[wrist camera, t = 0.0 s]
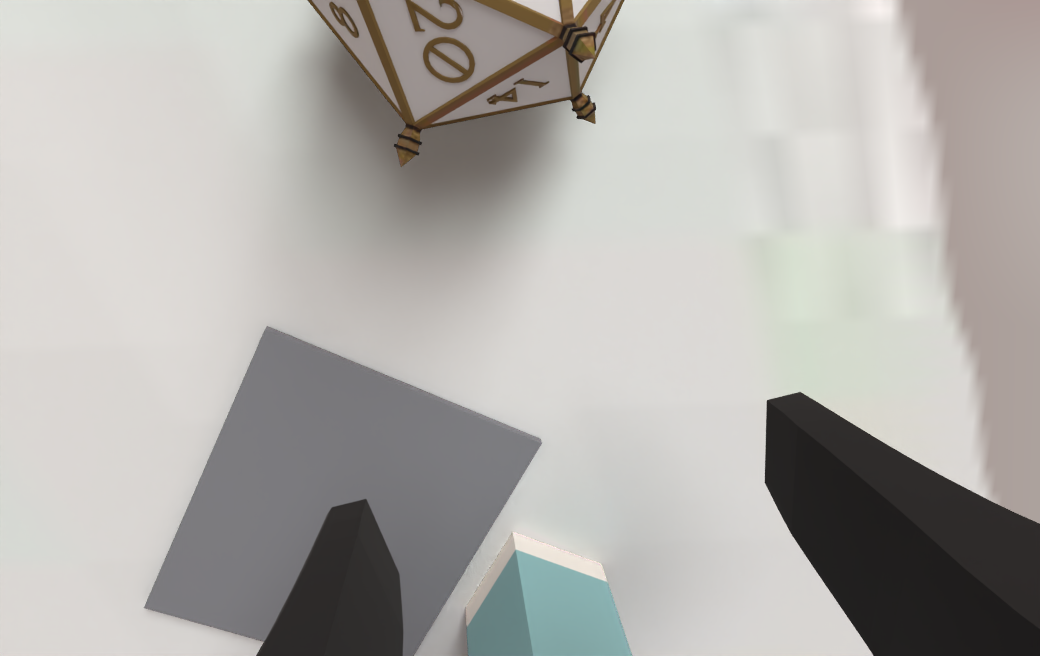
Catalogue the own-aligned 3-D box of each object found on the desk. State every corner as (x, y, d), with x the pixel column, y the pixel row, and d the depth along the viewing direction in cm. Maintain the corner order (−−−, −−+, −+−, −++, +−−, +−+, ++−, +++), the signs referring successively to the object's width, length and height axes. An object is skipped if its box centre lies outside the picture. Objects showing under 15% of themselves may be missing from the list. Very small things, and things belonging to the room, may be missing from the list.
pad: (399, 673, 27) (399, 679, 26) (147, 601, 24) (143, 608, 24) (540, 438, 23) (541, 443, 23) (267, 326, 21) (265, 329, 20)
